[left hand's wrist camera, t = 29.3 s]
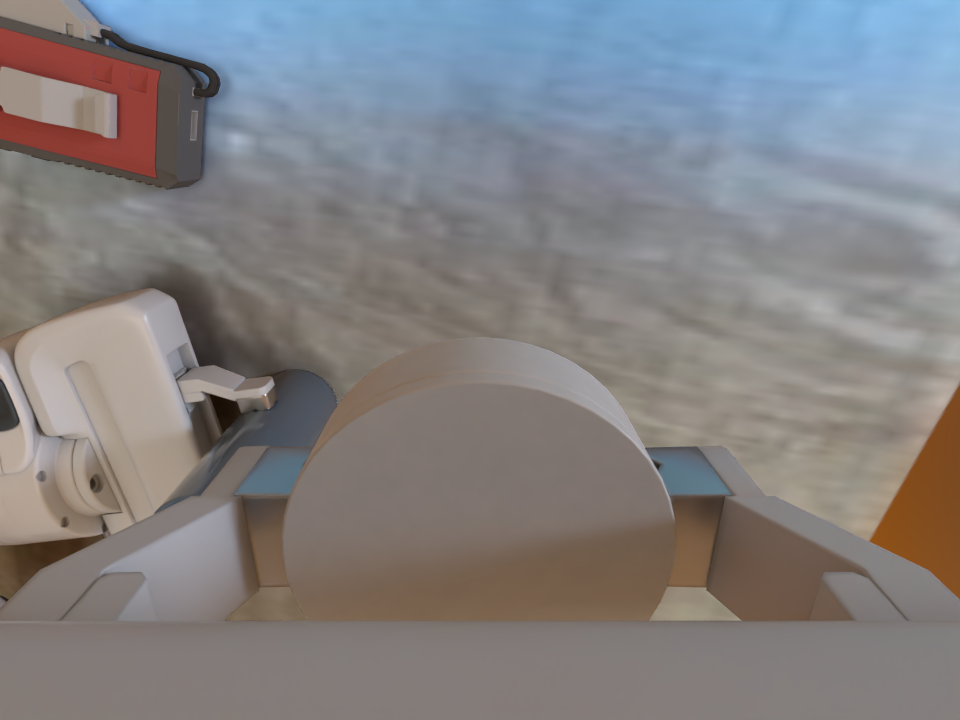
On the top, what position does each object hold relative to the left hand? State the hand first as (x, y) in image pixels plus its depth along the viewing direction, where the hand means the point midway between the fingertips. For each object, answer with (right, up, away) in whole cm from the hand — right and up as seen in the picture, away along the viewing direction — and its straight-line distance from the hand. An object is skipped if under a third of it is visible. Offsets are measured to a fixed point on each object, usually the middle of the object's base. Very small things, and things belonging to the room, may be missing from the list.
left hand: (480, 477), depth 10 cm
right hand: (-12, -3, +23) cm, 26 cm away
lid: (0, -1, -2) cm, 2 cm away
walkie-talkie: (-24, +18, +21) cm, 37 cm away
